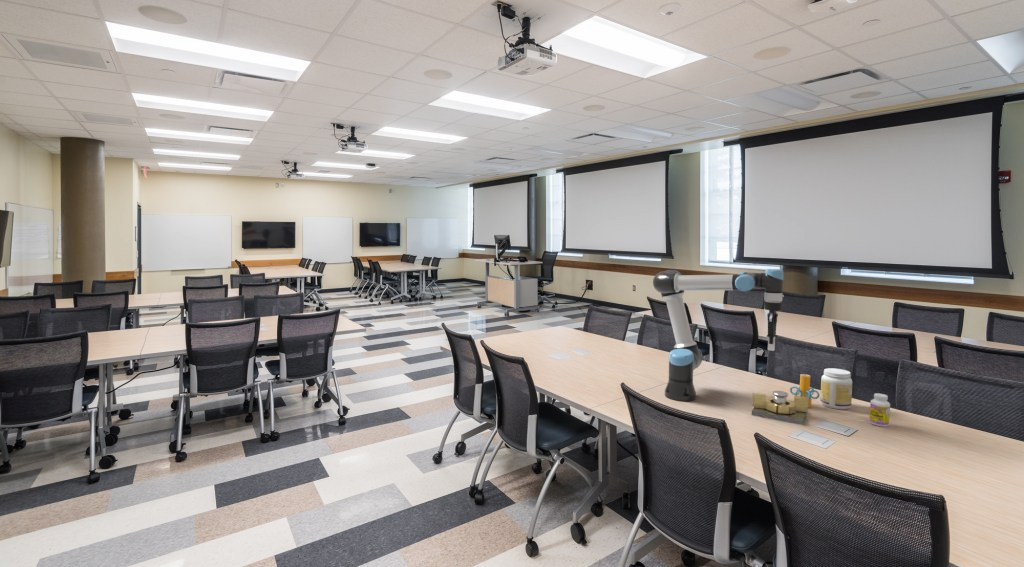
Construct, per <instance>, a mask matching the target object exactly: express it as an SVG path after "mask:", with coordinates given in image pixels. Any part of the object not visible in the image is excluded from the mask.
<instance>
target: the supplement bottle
mask: <svg viewBox="0 0 1024 567" xmlns="http://www.w3.org/2000/svg"><path fill="white" fill-rule="evenodd" d="M888 398H889V396H888V394H884V393H878V392H877V393H876V392H875V393H874V394H873V398H872V399H871V400H870V402H869V403H870V406H869V418H868V419H869V420H868V421H869V423H870V424H872V425H874V426H876V427H884V428H887V427H888V426H889V424H890V412H891V403H890V402H889V401H888Z"/></svg>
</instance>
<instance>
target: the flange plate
mask: <svg viewBox="0 0 1024 567" xmlns="http://www.w3.org/2000/svg"><path fill="white" fill-rule="evenodd" d="M771 394H772V395H773V398H774V404H777V405H780V403H785V404H786V399H787V397H789V393H788V392H786V391H781V390H773V391H772V393H771ZM807 413H808V412H804V411H796V412H795V413H792V414H783V413H778V412H776V413H775V412H772V411H769V410H767V409H765V408H755V407H752V410H751V413H750V414H751V416H753V417H754V416H755V417H760V418H764V419H771V420H775V421H780V422H784V423H785V422H786V423H790V424H794V425H795V424H796V425H801V426H804V423H805V421H806V417H807V415H808V414H807Z"/></svg>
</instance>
